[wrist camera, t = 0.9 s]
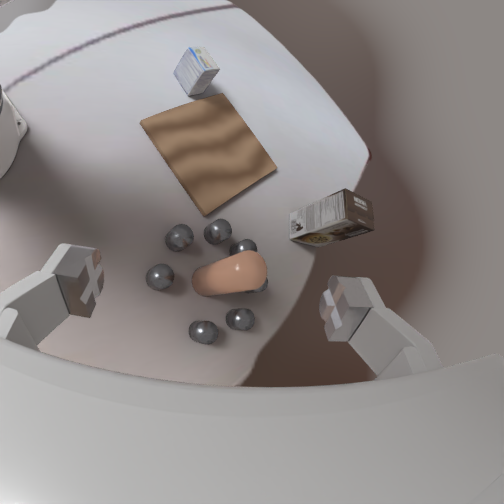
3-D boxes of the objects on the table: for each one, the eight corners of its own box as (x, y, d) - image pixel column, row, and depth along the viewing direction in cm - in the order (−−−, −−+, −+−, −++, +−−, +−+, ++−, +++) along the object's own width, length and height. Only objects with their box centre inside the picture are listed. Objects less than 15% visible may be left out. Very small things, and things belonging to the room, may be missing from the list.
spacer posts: (130, 260, 40) (133, 256, 37) (212, 202, 50) (221, 195, 47) (209, 359, 44) (218, 362, 41) (274, 290, 54) (286, 288, 51)
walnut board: (139, 123, 44) (140, 120, 44) (220, 95, 57) (222, 92, 56) (203, 216, 49) (206, 215, 48) (274, 169, 61) (277, 167, 60)
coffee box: (317, 222, 65) (372, 201, 52) (318, 248, 63) (376, 231, 50) (288, 212, 60) (345, 186, 47) (288, 240, 59) (348, 219, 46)
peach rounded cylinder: (186, 278, 45) (226, 265, 33) (207, 261, 47) (252, 242, 36) (204, 302, 46) (249, 297, 34) (224, 284, 48) (273, 273, 37)
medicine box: (203, 93, 54) (221, 69, 47) (186, 96, 51) (204, 70, 44) (188, 70, 53) (204, 46, 46) (172, 73, 50) (187, 46, 43)
